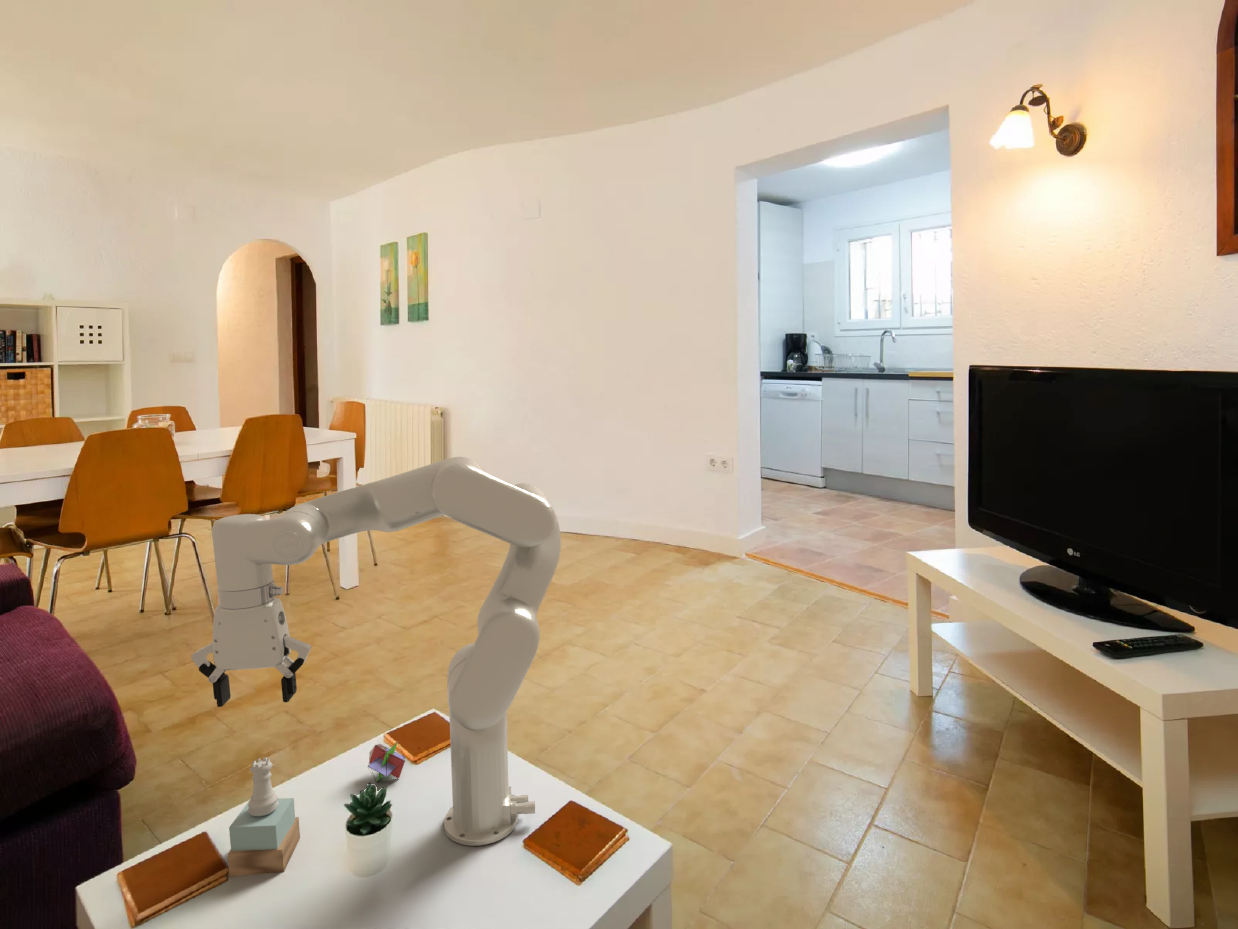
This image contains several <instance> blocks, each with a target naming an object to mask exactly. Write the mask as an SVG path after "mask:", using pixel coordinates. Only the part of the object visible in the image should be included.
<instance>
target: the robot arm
mask: <svg viewBox="0 0 1238 929" xmlns="http://www.w3.org/2000/svg"><path fill="white" fill-rule="evenodd" d="M444 516H446V517H448V518H450V519H451V520H454V521H456V522H458V523H460V524H462V525H465V526H466V527H469V528H471V529H473V530H476V531H478V532H481V533H483V534H486V535H488V536H490V537H493V538H495V539H498V540H500V541H503V542H505V543H508V544H509V549H508V552H507V555H506V558H505V560H504V561H503V564H502V567H501V569H500V571H499V573H498V576H497V578H496V579H495V581H494V583H493V585H492V587H491V589H490V590H489V593H488V595H487V596H486V598H485V599H484V601H483V603H482V605H481V607H480V608H479V612H478V615H477V633H478V634H477V636H476V640H474V641H475V642H472V643H469V644H466V645H464V646H462V647H460V649H459V650H457V651H456V652H455V653H454V655H453V657H452V658H451V660H450V662H449V665H448V668H447V674H446V675H447V680H446V682H447V686H446V687H447V704H448V705H447V706H448V711H449V734H450V736H449V737H450V741H449V742H450V763H451V764H450V766H451V769H450V770H451V771H450V772H451V792H452V807H451V808H450V809H449V810H448V811H447V812H446V813H445V817H444V819H443V820H444V822H443V827H444V829H443V830H444V832H445V834H446V836H447V837H448V838H449V839H450V840H451V841H454V842H455V843H457V844H460V845H464V846H471V847H475V846H485V845H489V844H492V843H496V842H498V841H500V840H502V839H504V838H506V837H507V836H508V835H509V834H512V832H513V831H514V830H515V828H516V827H517V825H518V823H519V822H518V821H519V815H534V814H536V801H535V800H534V801H533V800H532V801H529V794H524V795H523V794H522V795H515V794H512V786H509V759H508V758H509V755H508V754H509V753H508V752H509V750H508V716H507V715H508V710H509V708H510V706H511V705H512V703H513V701H514V700H515V697H516V696H517V693H518V691H519V690H520V688H521V685H522V683H523V681H524V680H525V677H526V676H527V674H528V671H529V670H530V667H531V665H532V664H533V661H534V659H535V656H536V654H537V651H538V648H539V644H540V640H541V639H540V637H541V633H540V632H541V631H540V625H539V622H538V619H537V616H538V612H539V609H540V606H541V605H542V602H543V600H544V597H545V596H546V594H547V591H548V589H549V587H550V584H551V582H552V579H553V577H554V575H555V572H556V570H557V567H558V564H559V562H560V561H559V559H560V556H561V548H562V547H561V546H562V541H561V540H562V539H561V537H562V536H561V530H560V523H559V520H558V517H557V514H556V513H555V510H554V507H553V506H552V504H551V503H550V501H549V500H548V498H547V497H546V495H545V494H544V493H543V491H542V490H541V489H540V488H538V487H536V486H535V485H533V484H530V483H525V482H524V483H523V482H520V483H516V484H510V483H509V482H506V481H504V480H502V479H500V478H497V477H495V476H492V474H489V473H487V472H485V471H483V469H482V468H481V467H480V465H479V464H478V463H477V462H475V460H473V459H471V458H469V457H467V456H466V457H465V456H453V457H450V458H449V457H448V458H446V459H443V460H440V461H436V462H433V463H430V464H428V465H427V464H426V465H424V466H421V467H417V468H413V469H411V470H408V471H405V472H402V473H399V474H395V475H393V476H389V477H386V478H382V479H379V480H376V481H372V482H368V483H365V484H363V485H359V486H355V487H352V488H347V489H343V490H341V491H337V492H334V493H331V494H327V495H325V496H321V497H317V498H316V499H315V498H314V499H312V500H309V501H306V502H303V503H300V504H297V505H295V506H292V507H291V508H288V509H287V510H286V511H285V512H283V513H282V514H281V515H279V516H276V517H274V518H271V519H266V518H265V517H264V516H263V515H260V514H255V513H253V514H252V513H244V514H243V513H241V514H234V515H228V516H224V517H222V518H219V519H217V520H215V522H214V523H213V525H212V528H211V532H212V533H211V534H212V535H211V536H212V546H213V556H214V565H215V566H214V567H215V574H216V575H215V576H216V584H217V586H216V587H217V596H218V605H216V607H215V609H214V615H213V623H212V642H211V643H209V644H206V645H205V646H204V647H202V648H200V649H198V650H195V652H194V653H193V654H191V656H190V658H191V660H192V662H193V663H194V665H195V666H197V667H198V671H199V672H200V673H201V674H202V675H204V676H205V677H206V678H208V682H209V683H211V684H212V690H213V691H212V692H213V698H214V700H216V707H218V708H221V707H223V706H225V705H226V703H227V702H228V701H229V700H230V699H231V688H230V678H229V675H228V673H226V672H227V671H241V670H242V671H243V670H256V669H257V670H258V669H269V668H275V669H276V670H278V671H279V672H280V673H281V674H282V675H283V676H282V678H281V681H280V682H281V684H280V685H281V694H282V703H283V702H284V703H289V702H290V701H291V699H292V698H293V697H294V695H295V694H296V693H297V690H298V689H297V676H296V673H297V671H298V670H299V669H301V667H302V666H303V665H304V663H305V662H306V661H307V658H308V656H309V654H310V652H311V650H312V645H311V644H309V643H307V642H304V641H303V640H302V641H301V640H299V639H297V638H295V637H291V635H290V629H289V625H288V621H287V615H286V612H285V608H284V605H283V603H282V601H281V600H282V599H281V598H279V597H277V596H283V594H284V587H283V586H278V585H276V584H275V580H274V578H273V577H274V575H273V565H279V566H295V565H299V564H303V563H304V562H307V561H308V560H309V559H310V558H311V557H313V556H314V554H315V553H316V552H317V550H318V549H319V547H320V546H321V545H323V544H326V543H328V542H331V541H334V540H338V539H341V538H344V537H347V536H350V535H354V534H357V533H363V532H367V531H378V532H383V533H392V532H398V531H403V530H404V529H408V528H410V527H414V526H416V525H418V524H421V523H425V522H429V521H431V520H433V519H436V518H440V517H444ZM292 650H293V651H295V652H297V654H298V655H297V657H296V659H295V660H293V659H292V658H291V657H290V656H289V655H290V654H291V653H292ZM210 654H212V656H213V663H212V662H211V661H209V659H208V658H207V656H208V655H210Z"/></svg>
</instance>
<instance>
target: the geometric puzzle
mask: <svg viewBox="0 0 1238 929" xmlns="http://www.w3.org/2000/svg"><path fill="white" fill-rule="evenodd" d="M385 744H388V742H385ZM397 746H399V749H400V752H401V753H402V755H401V754H400V753H398V752H396V748H397ZM390 747H391V748H390ZM368 758H369V760H368V765H367V768H368V770H369V771H370V773H371V775H372V777H373V779H374V780H375V783H379V782H381V783H382V782H383V780H384V779H385V778H388V777H389V778H391V779H394V778H395V780H399V779H400V777H401V774H402V771H403V768H404V765H405V763H406V756H405V755H404V753H403V750H402V748H401V745H400V743H399V741H397V742H392V745H390V746H388V747H387V746H385V745H384V744H381V743H378V744H374V746H373V747H372V748H371V750H370V751H369V756H368ZM371 771H375V772H377V773H378V775H377V778H375V776H374V774H373V772H371ZM389 775H391V776H389ZM383 776H384V777H383ZM392 776H393V777H392ZM398 778H399V779H398ZM387 781H389V780H386V782H387Z"/></svg>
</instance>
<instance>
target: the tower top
mask: <svg viewBox="0 0 1238 929" xmlns="http://www.w3.org/2000/svg"><path fill="white" fill-rule="evenodd" d="M277 801H278V802H279V804H278V807H277V808H276V809H275V810H274V811H273V812H272V813H270V814H267V815H265V816H260V817H255V816H252V815H250V814H249V812H248V808H249V807H248V803H249V801H248V802H247V803H246V804H245V805H244V807H243V809H242V810H241V811H240V812H239V814H238V815H237V817H236V818H235V819H234V820H233V822H232V823H231V824H230V826H229V827H228V829H229V831H228V832H229V840H230V844H229V845H230V850H231V851H246V850H268V849H278V847H279V846H280V844H281V843H282V841H283V839H284V838H285V836H286V835H287V833H288V831H289V830H290V828H291V826H292V825H293V823H294V822H295V817H296V813H295V812H296V810H295V799H294V797H288V798H287V797H285V798H283V797H282V798H278V800H277Z"/></svg>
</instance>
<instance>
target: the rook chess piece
mask: <svg viewBox="0 0 1238 929" xmlns="http://www.w3.org/2000/svg"><path fill="white" fill-rule="evenodd" d="M261 759H263V760H261ZM273 765H274V764H273V763H272V762H271V759H270V758H268V757H263V758H257V759H256V760H254V761H252V763H251V767H250V768H249V772H251V773H252V774H253V776H252V777H251V780H252V781H253V785H252V786H253V789H252V794H251V796H250V799H249V800H248V802H249V803H248V802H247V803H248V807H249V808H248V812H249V814H250V815H252V816H255V817H260V816H265V815H267V814H270V813H272V812H273V811H274V810H275V809H276V808H277V807H278V804H279V802H278V801H277V800H278V799H279V796H278V794H276V791H275V790H274V788H273V786H272V781H271V777H272V775H273V774H272V772H271V769H272V768H273Z"/></svg>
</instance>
